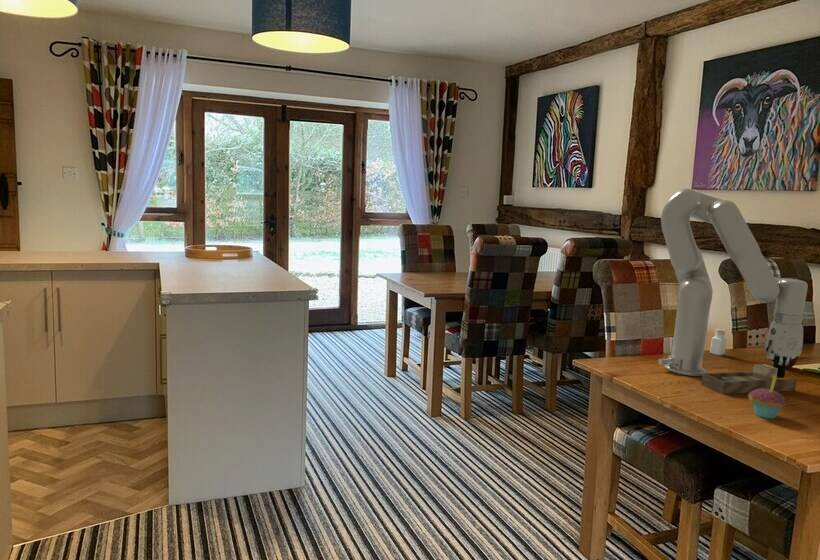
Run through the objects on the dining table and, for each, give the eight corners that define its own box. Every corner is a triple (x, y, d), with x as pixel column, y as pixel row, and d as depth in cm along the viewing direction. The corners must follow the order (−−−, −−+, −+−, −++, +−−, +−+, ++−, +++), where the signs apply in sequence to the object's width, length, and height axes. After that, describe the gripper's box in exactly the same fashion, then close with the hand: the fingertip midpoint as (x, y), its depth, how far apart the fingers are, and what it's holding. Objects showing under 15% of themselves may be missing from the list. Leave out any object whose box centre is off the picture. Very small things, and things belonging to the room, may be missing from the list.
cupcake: (790, 421, 155) (797, 377, 153) (759, 420, 154) (766, 376, 152) (768, 409, 163) (775, 367, 162) (739, 408, 163) (745, 366, 161)
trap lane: (722, 393, 175) (724, 382, 174) (700, 384, 183) (702, 373, 183) (794, 390, 183) (796, 379, 182) (771, 381, 191) (772, 371, 190)
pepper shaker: (719, 356, 220) (722, 331, 218) (709, 353, 223) (712, 328, 222) (725, 355, 222) (729, 330, 221) (715, 352, 225) (718, 327, 224)
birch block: (764, 381, 181) (766, 369, 181) (752, 377, 186) (754, 364, 185) (775, 381, 183) (777, 368, 182) (763, 376, 187) (765, 364, 186)
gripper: (779, 321, 177) (769, 381, 180) (817, 322, 181) (807, 379, 184) (758, 316, 184) (749, 373, 187) (795, 316, 189) (785, 372, 191)
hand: (777, 376), depth 186 cm, fingers closed
